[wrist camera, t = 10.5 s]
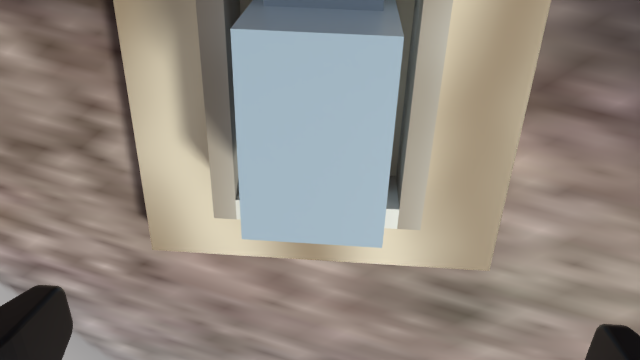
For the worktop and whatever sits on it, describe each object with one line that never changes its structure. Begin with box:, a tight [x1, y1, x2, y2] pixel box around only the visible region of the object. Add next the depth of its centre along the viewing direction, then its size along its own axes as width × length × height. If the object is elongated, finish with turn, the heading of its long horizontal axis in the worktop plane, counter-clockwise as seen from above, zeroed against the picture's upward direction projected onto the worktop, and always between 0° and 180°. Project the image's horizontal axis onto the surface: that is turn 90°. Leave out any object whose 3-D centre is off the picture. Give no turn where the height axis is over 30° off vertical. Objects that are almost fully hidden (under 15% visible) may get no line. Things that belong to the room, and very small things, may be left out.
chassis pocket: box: [113, 0, 551, 271], centre depth 18 cm, size 14×16×3 cm
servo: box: [230, 0, 404, 248], centre depth 17 cm, size 4×9×6 cm, turn 179°
